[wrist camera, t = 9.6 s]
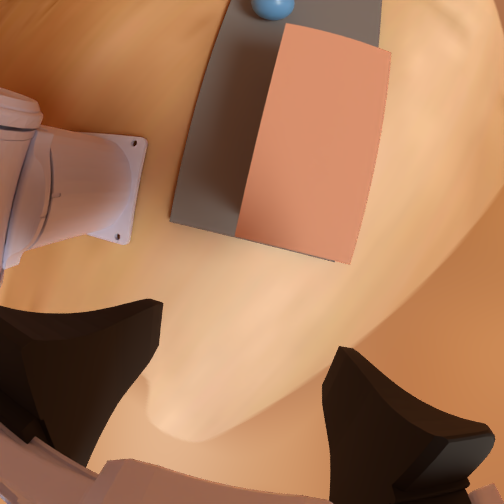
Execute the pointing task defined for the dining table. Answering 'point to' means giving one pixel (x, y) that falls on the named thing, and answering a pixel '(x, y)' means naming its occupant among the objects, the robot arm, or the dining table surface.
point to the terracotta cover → (316, 144)
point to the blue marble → (273, 8)
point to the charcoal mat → (247, 104)
